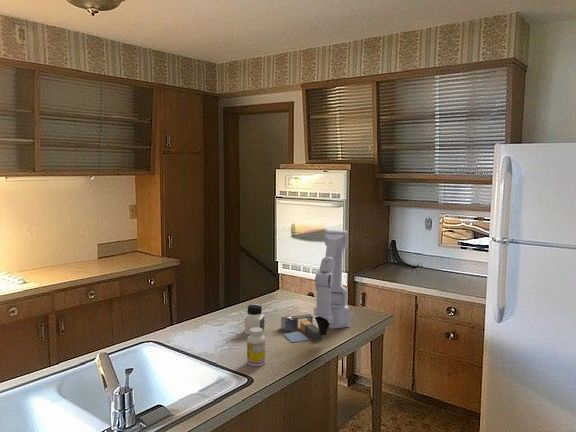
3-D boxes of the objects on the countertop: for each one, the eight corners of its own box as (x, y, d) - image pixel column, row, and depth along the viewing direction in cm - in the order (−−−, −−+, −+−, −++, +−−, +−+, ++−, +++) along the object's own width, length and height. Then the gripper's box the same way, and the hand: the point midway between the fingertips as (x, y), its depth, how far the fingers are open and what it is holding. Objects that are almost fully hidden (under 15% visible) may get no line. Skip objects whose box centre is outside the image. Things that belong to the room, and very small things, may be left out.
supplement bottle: (247, 359, 181) (247, 326, 179) (264, 359, 181) (265, 326, 180) (247, 367, 174) (247, 332, 173) (265, 366, 175) (265, 332, 173)
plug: (307, 328, 215) (307, 320, 215) (322, 339, 201) (322, 331, 201) (300, 329, 214) (300, 321, 214) (314, 341, 200) (314, 332, 200)
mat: (300, 332, 210) (300, 331, 210) (309, 340, 200) (309, 339, 200) (282, 334, 207) (283, 333, 207) (291, 343, 198) (291, 342, 198)
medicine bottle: (260, 335, 205) (260, 308, 204) (244, 334, 207) (244, 307, 205) (264, 330, 212) (264, 303, 211) (248, 328, 214) (248, 302, 212)
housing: (309, 324, 220) (309, 312, 219) (313, 328, 215) (314, 315, 215) (281, 328, 215) (281, 315, 214) (285, 331, 210) (285, 319, 210)
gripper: (307, 298, 200) (306, 330, 201) (322, 308, 186) (321, 342, 188) (322, 296, 202) (322, 328, 204) (338, 306, 189) (338, 340, 190)
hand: (323, 334), depth 196 cm, fingers closed
